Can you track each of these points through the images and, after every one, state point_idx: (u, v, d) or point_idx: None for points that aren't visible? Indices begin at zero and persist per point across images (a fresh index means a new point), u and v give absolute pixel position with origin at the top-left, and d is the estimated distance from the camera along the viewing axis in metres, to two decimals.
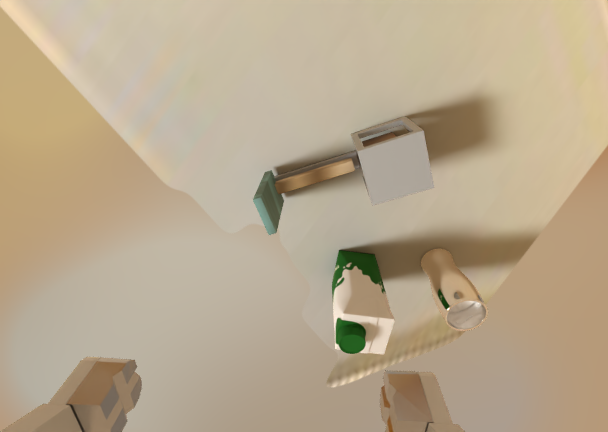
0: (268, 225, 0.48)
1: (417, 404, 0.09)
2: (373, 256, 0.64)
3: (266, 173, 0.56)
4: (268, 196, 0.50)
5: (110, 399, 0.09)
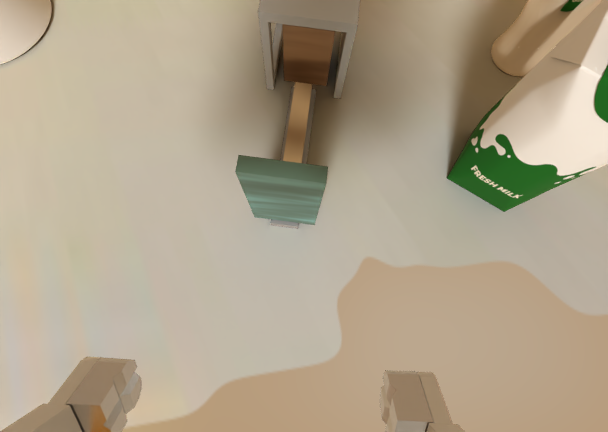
0: (304, 172, 0.22)
1: (417, 404, 0.09)
2: (476, 127, 0.37)
3: None
4: None
5: (110, 399, 0.09)
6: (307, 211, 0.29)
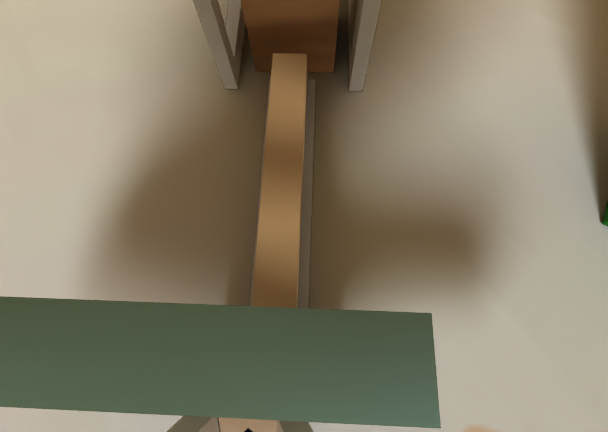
0: (303, 366, 0.04)
1: None
2: None
3: None
4: None
5: None
6: None
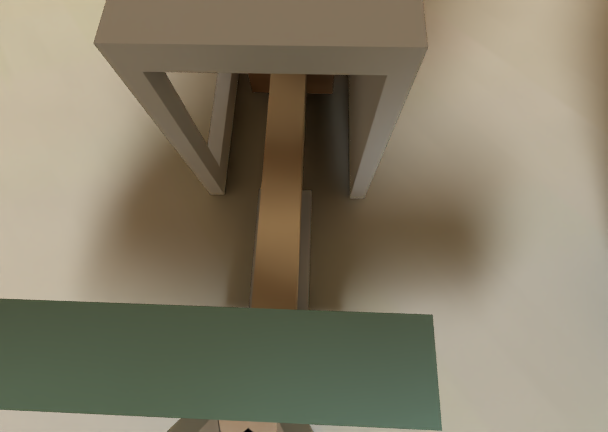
0: (304, 368, 0.04)
1: None
2: None
3: None
4: None
5: None
6: None
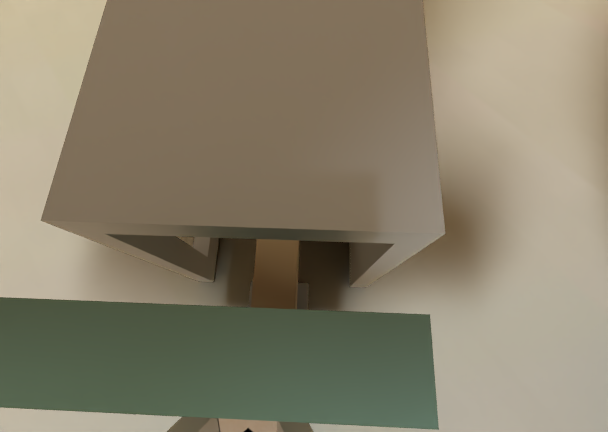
0: (302, 367, 0.04)
1: None
2: None
3: None
4: None
5: None
6: None
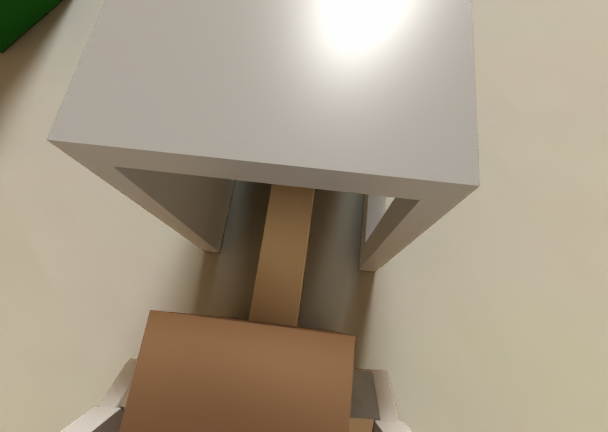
0: None
1: (366, 402, 0.09)
2: None
3: None
4: None
5: None
6: None
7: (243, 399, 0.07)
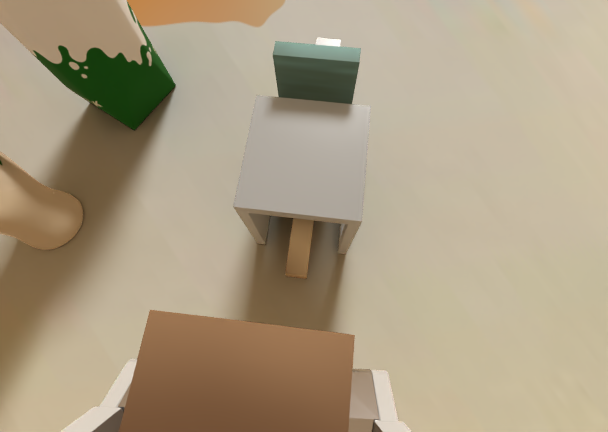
0: (295, 49, 0.23)
1: (366, 401, 0.09)
2: (133, 123, 0.35)
3: None
4: (334, 95, 0.26)
5: None
6: None
7: (243, 398, 0.07)
